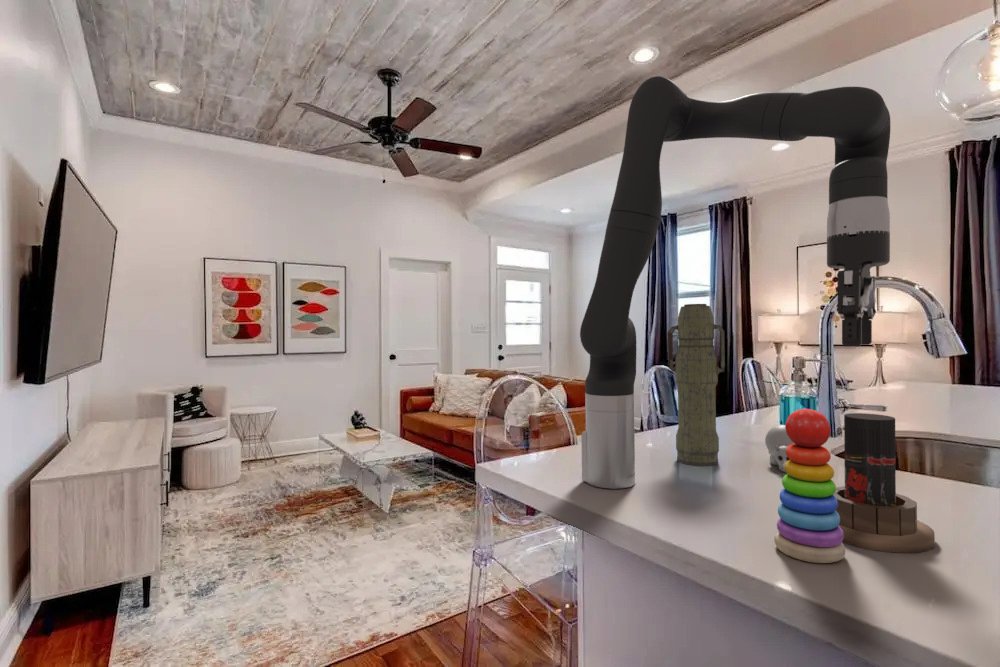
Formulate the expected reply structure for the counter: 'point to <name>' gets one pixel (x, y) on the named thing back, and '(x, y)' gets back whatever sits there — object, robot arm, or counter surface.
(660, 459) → the counter surface
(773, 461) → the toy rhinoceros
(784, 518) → the stacking toy
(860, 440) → the deodorant
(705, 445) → the thermos
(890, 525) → the socket stand
